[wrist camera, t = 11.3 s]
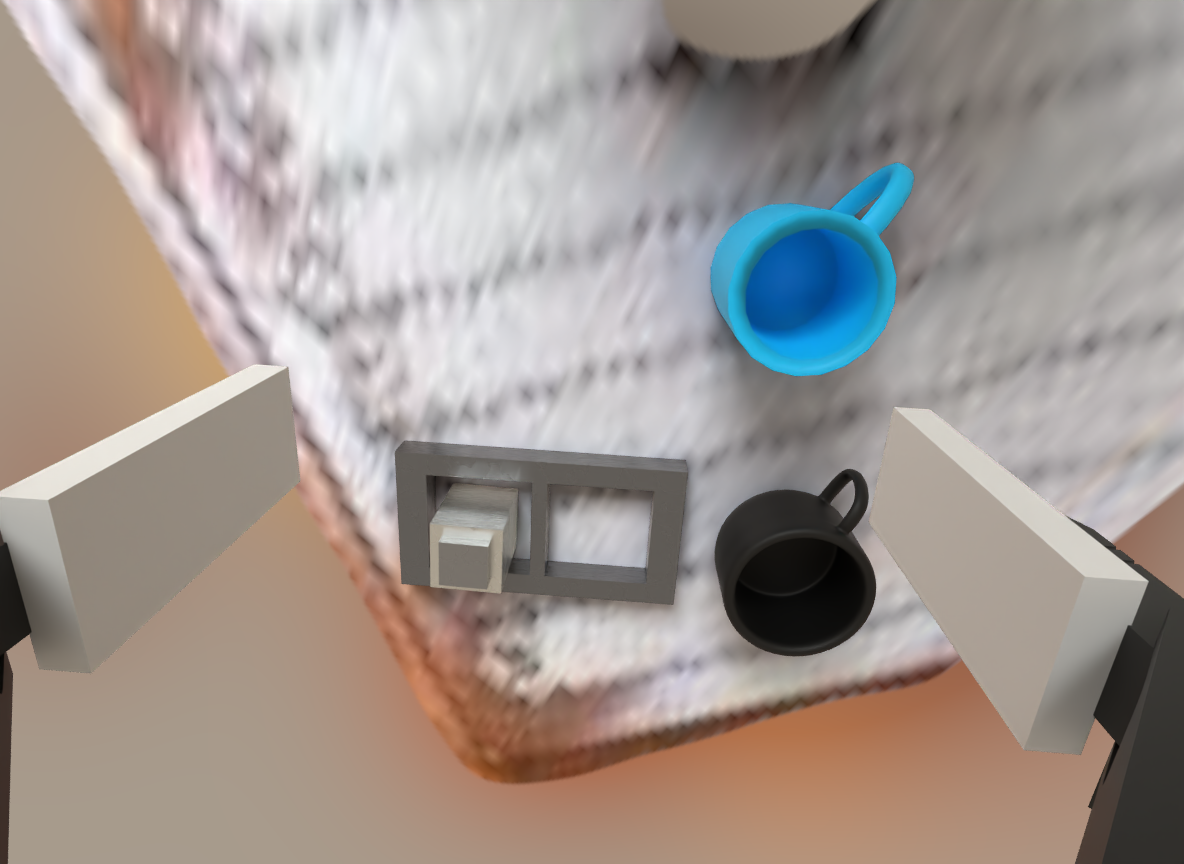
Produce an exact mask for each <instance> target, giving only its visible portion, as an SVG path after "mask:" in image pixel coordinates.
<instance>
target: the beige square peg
mask: <svg viewBox="0 0 1184 864" xmlns="http://www.w3.org/2000/svg"><path fill="white" fill-rule="evenodd" d="M517 511H518V489H517V488H505V487H494V486H483V485H472V484H461V483H453V485H452V486H451V488H450V490H449V492H448V493H447V495H446V497H445V499H444V500H443V502H442V504H441V505H440V507H439V509H438V511H437V512H436V514H435V516H434V517H433V519H432V521H431V523H430V587H436V588H447V589H457V590H468V591H479V592H489V593H500V594H501V592H502V589H503V586H504V583H505V580H506V577H507V573H508V570H509V567H510V564H511V561H512V558H513V554H514V551H515V548H516V537H517Z"/></svg>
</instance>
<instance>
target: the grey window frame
mask: <svg viewBox="0 0 1184 864" xmlns="http://www.w3.org/2000/svg"><path fill="white" fill-rule="evenodd" d="M395 465H396V484H397V504H398V523H399V542H400V562H401V581H402V584H410V585H423V586H430V523H431V521H432V519H433V517H434V516H435V514H436V505H435V476H447V477H461V478H475V479H489V480H503V481H517V482H531V483H532V508H531V550H530V560H528V559H515V558H512V561H511V564H510V567H509V570H508V573H507V577H506V580H505V583H504V586H503V589H502V592H514V593H527V594H540V595H553V596H566V597H579V598H593V599H606V600H619V601H632V602H645V603H658V604H671V605H673V603H674V594H675V585H676V576H677V567H678V558H679V549H680V540H681V531H682V522H683V513H684V504H685V495H686V486H687V477H688V470H687V465H686V460H675V459H660V458H646V457H631V456H617V455H603V454H588V453H574V452H560V451H545V450H531V449H517V448H502V447H488V446H474V445H459V444H445V443H431V442H416V441H404V442H403V443H402V444H401V445H400V446H399V447H398V449H397V450H396V451H395ZM550 484H559V485H573V486H587V487H601V488H615V489H629V490H643V491H653V493H652V504H651V515H650V526H649V537H648V548H647V558H646V568H635V567H622V566H608V565H595V564H582V563H568V562H555V561H548V538H549V508H550Z"/></svg>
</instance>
